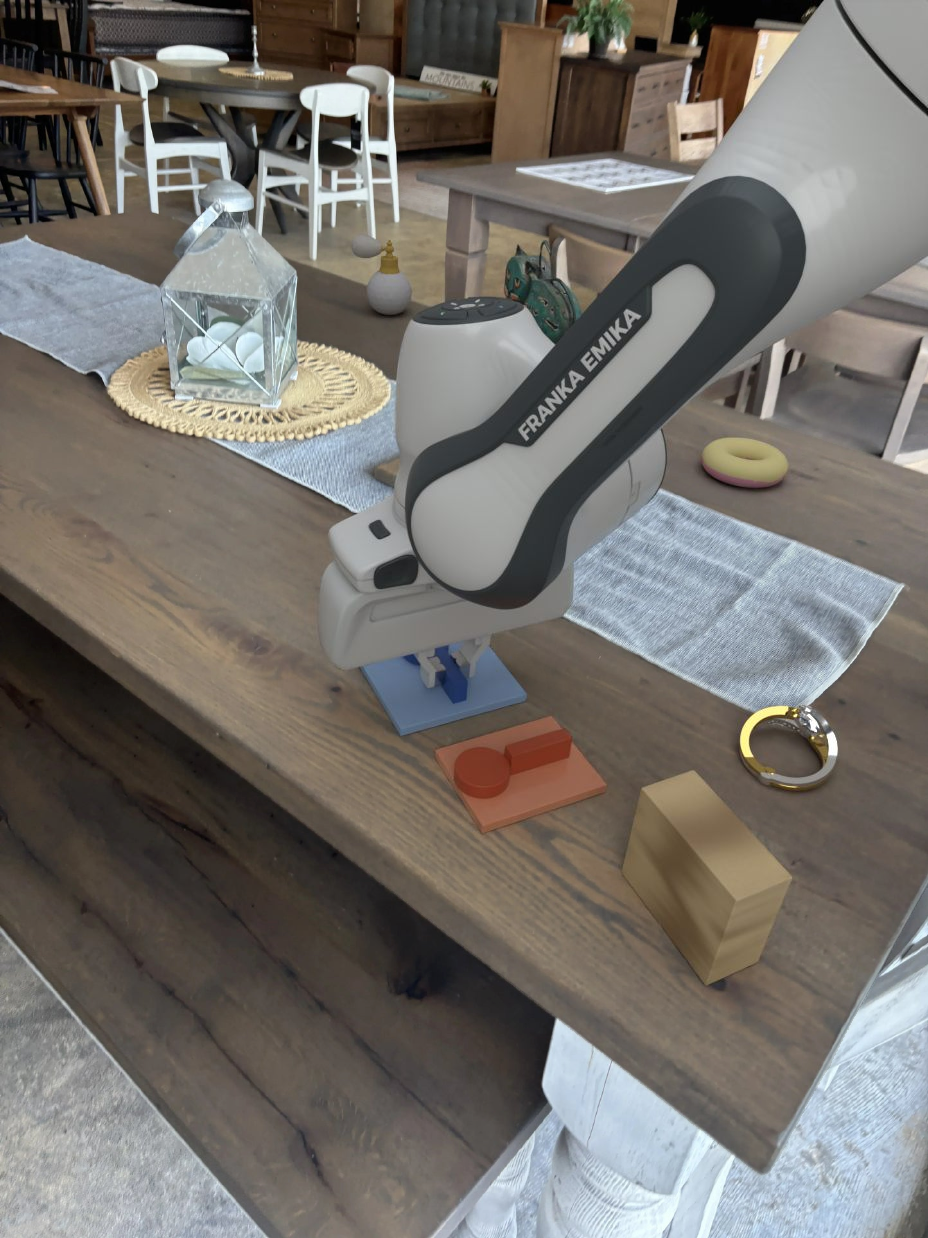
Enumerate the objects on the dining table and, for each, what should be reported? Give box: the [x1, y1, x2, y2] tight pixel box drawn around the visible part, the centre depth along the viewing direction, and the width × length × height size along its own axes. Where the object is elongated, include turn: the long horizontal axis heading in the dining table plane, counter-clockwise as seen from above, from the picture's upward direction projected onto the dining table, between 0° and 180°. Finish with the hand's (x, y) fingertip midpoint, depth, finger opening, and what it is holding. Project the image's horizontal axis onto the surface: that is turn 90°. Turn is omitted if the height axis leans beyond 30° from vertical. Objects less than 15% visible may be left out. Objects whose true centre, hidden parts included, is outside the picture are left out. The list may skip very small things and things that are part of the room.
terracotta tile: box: [434, 715, 607, 834], centre depth 66 cm, size 8×10×1 cm
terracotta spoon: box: [454, 727, 573, 799], centre depth 65 cm, size 9×4×2 cm, turn 115°
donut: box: [701, 436, 789, 489], centre depth 109 cm, size 10×5×9 cm
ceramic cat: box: [503, 239, 583, 345], centre depth 121 cm, size 20×6×20 cm, turn 20°
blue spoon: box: [403, 645, 468, 704], centre depth 74 cm, size 9×4×2 cm, turn 25°
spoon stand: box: [621, 769, 793, 986], centre depth 55 cm, size 9×4×8 cm, turn 26°
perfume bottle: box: [350, 234, 413, 316], centre depth 149 cm, size 8×10×12 cm
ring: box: [738, 704, 838, 792], centre depth 69 cm, size 7×3×8 cm
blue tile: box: [359, 641, 528, 737], centre depth 75 cm, size 10×11×1 cm
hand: (447, 678), depth 73 cm, fingers closed on blue spoon, 1 cm apart
